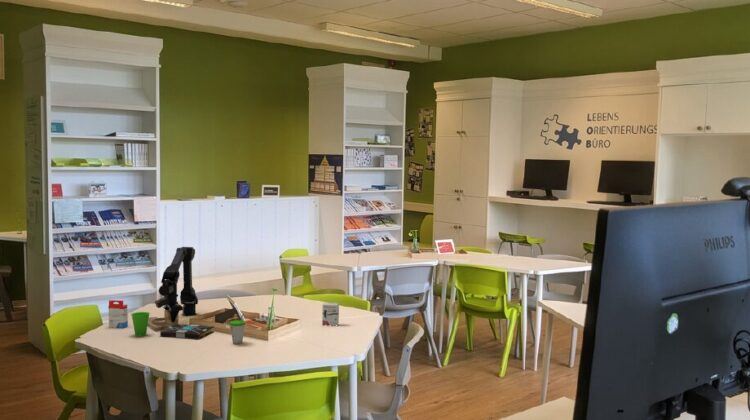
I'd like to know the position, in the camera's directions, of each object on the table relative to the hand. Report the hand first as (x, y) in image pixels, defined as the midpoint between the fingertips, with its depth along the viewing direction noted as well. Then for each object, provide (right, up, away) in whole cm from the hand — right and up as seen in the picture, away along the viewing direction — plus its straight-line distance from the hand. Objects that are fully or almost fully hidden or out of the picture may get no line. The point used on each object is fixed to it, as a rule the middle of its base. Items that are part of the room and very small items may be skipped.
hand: (171, 321), depth 356 cm
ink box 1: (-27, -2, -5) cm, 27 cm away
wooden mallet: (-3, -2, -2) cm, 4 cm away
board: (-8, -2, -1) cm, 8 cm away
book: (+14, -4, -19) cm, 24 cm away
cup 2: (+43, -5, -35) cm, 55 cm away
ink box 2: (+85, -3, +6) cm, 85 cm away
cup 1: (-9, -4, -22) cm, 24 cm away
